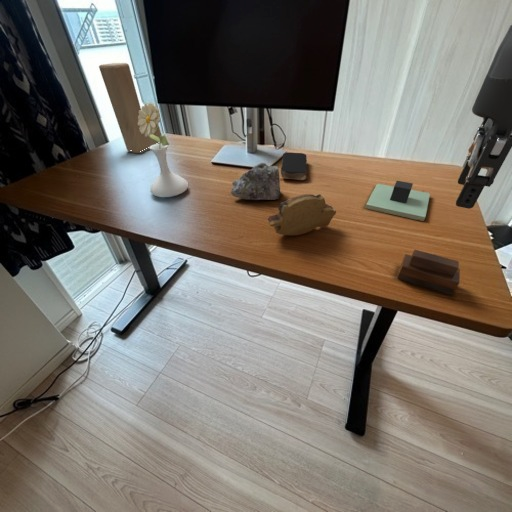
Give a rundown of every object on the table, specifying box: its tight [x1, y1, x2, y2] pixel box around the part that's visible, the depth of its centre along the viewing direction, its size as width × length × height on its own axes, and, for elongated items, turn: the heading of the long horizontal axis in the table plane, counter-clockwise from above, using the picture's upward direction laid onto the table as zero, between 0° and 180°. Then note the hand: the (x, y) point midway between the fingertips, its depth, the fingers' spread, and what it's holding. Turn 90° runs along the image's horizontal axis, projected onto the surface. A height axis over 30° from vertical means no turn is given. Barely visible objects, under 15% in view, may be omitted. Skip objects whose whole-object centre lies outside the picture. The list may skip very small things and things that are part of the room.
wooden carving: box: [267, 193, 337, 237], centre depth 61 cm, size 16×5×10 cm, turn 112°
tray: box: [364, 183, 431, 222], centre depth 73 cm, size 14×14×1 cm
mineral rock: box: [230, 162, 282, 201], centre depth 76 cm, size 13×11×10 cm
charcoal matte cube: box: [390, 180, 414, 203], centre depth 71 cm, size 4×4×4 cm
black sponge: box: [280, 152, 308, 181], centre depth 90 cm, size 16×8×4 cm, turn 172°
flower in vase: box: [138, 101, 189, 198], centre depth 74 cm, size 13×11×25 cm
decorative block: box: [98, 62, 162, 154], centre depth 107 cm, size 15×8×30 cm, turn 157°
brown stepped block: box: [396, 249, 461, 296], centre depth 49 cm, size 9×4×6 cm, turn 60°
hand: (463, 194), depth 43 cm, fingers open, 8 cm apart
